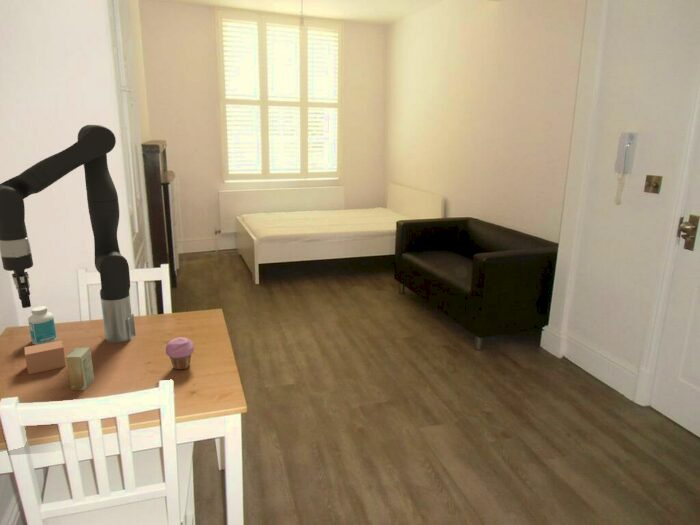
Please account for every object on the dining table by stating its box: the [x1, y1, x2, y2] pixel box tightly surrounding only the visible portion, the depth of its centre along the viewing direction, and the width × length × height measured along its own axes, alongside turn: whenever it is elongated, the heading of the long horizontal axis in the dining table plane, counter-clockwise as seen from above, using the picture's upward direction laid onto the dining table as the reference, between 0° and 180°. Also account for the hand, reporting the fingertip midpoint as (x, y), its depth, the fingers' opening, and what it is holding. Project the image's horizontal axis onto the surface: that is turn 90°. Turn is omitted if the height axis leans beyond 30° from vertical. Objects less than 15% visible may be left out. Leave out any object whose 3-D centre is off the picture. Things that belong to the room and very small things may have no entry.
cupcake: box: [165, 336, 195, 370], centre depth 153 cm, size 9×9×10 cm
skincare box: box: [65, 347, 95, 391], centre depth 138 cm, size 6×4×12 cm
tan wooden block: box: [24, 339, 67, 375], centre depth 149 cm, size 10×6×8 cm, turn 124°
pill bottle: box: [27, 305, 57, 345], centre depth 165 cm, size 8×7×14 cm
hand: (25, 303), depth 147 cm, fingers open, 8 cm apart
